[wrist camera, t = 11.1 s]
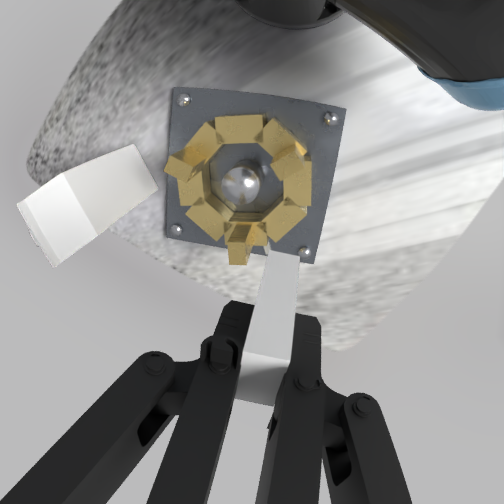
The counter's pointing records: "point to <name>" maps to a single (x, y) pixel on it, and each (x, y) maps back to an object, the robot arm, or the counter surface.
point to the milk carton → (85, 202)
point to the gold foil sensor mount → (217, 213)
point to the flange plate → (256, 163)
